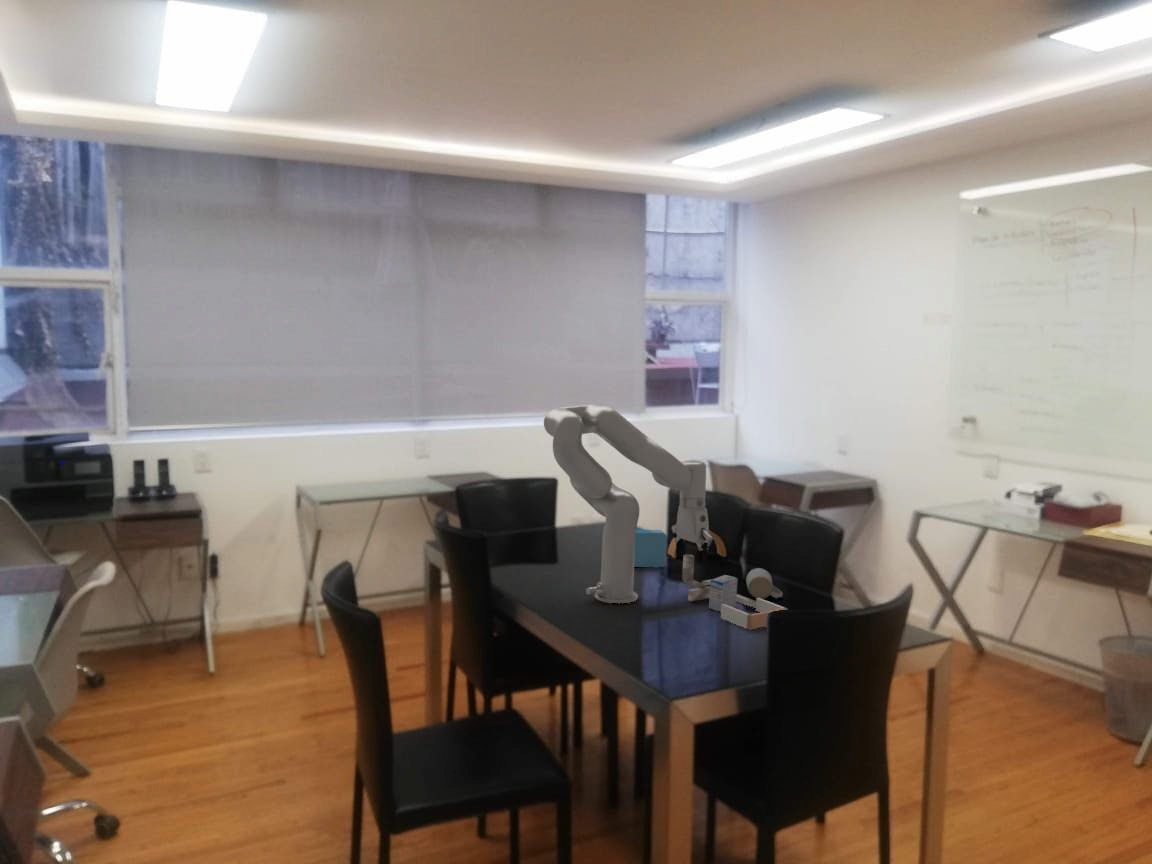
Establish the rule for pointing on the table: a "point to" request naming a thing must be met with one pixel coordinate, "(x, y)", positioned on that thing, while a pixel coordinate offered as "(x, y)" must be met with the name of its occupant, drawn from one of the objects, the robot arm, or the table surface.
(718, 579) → the medicine box
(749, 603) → the guide rail
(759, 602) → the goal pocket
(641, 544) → the data package
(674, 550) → the arch
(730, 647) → the table surface
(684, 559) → the crank handle
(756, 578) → the ceramic mug
